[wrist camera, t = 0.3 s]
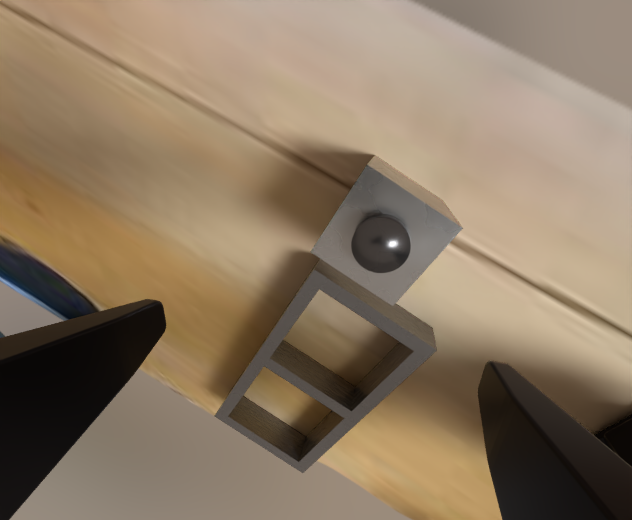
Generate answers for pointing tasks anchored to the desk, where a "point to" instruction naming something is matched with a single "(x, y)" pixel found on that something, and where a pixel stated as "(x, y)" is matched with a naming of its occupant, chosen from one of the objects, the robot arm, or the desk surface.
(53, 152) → the desk surface
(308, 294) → the two-cubby grey shelf
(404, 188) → the knobbed drawer box
